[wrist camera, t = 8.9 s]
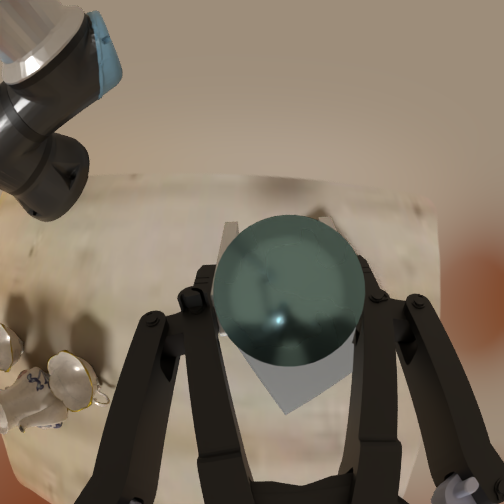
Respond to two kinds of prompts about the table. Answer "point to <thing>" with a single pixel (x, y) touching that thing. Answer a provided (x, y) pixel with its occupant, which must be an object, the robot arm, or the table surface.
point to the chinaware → (44, 388)
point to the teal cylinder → (289, 290)
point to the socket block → (304, 376)
